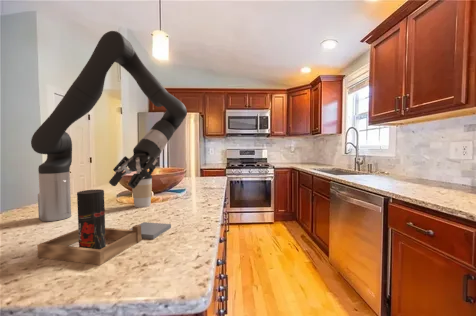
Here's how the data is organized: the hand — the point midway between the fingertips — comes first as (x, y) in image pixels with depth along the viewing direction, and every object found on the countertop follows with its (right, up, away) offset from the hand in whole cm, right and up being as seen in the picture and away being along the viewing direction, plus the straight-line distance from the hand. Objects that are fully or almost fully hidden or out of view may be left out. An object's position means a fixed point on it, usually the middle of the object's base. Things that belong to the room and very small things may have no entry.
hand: (121, 185), depth 69 cm
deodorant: (-4, -16, -7) cm, 18 cm away
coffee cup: (-10, -14, +40) cm, 43 cm away
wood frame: (-4, -16, -7) cm, 18 cm away
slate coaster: (+6, -15, +5) cm, 17 cm away
